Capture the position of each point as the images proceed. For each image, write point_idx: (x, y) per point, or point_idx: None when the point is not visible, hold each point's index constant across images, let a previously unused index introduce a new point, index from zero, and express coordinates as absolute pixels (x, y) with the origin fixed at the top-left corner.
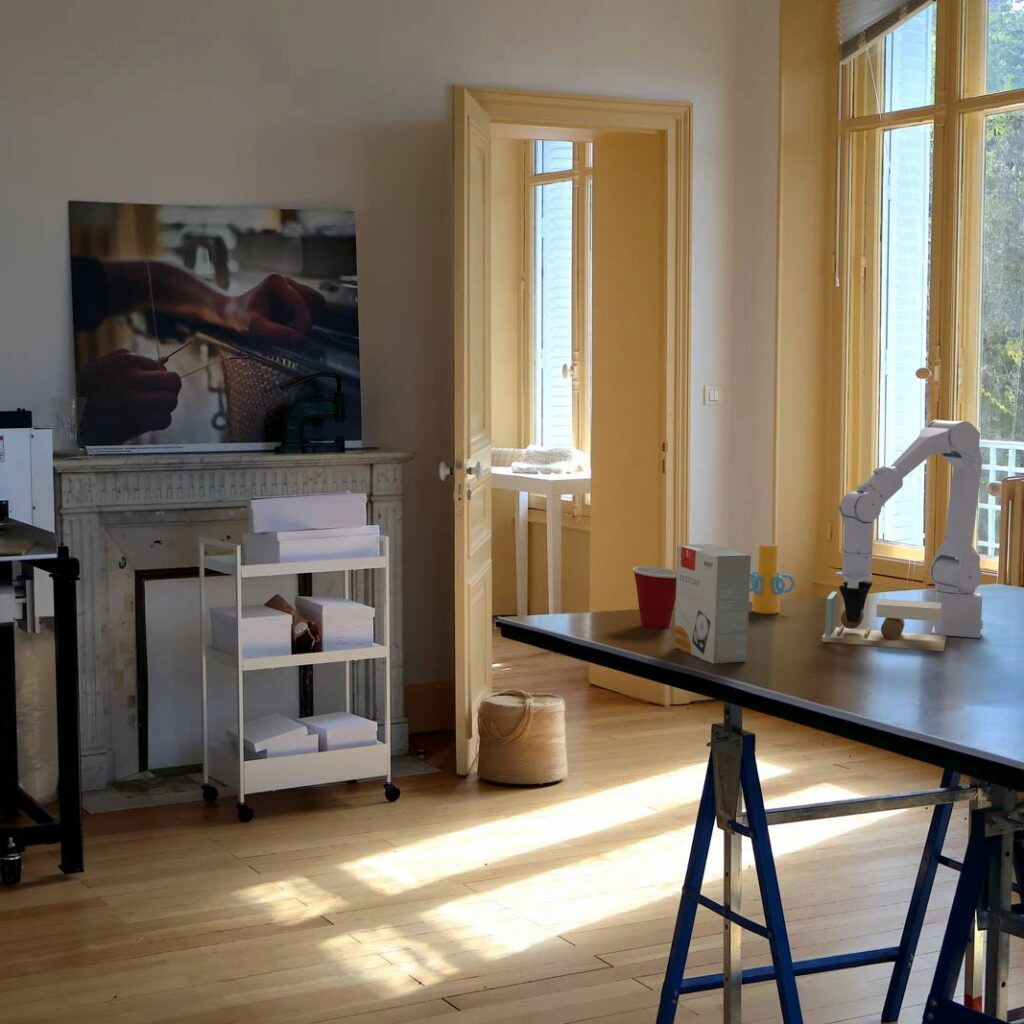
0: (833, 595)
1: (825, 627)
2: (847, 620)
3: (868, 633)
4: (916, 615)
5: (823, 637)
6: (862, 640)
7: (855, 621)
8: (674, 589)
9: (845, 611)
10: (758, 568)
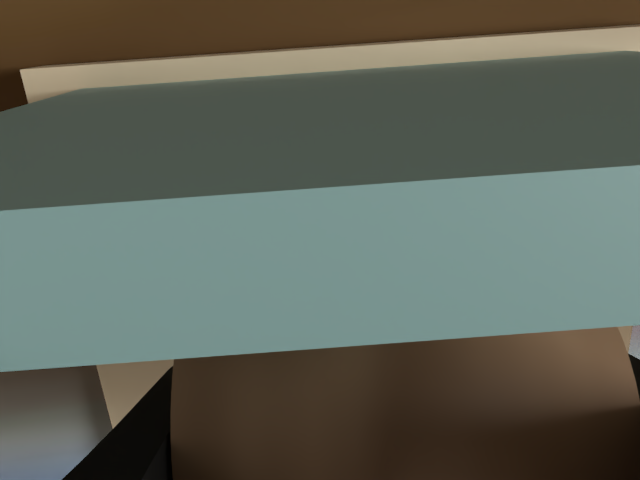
0: (423, 312)
1: (37, 101)
2: (167, 371)
3: None
4: None
5: (26, 81)
6: (112, 413)
7: None
8: None
9: (172, 415)
10: None
